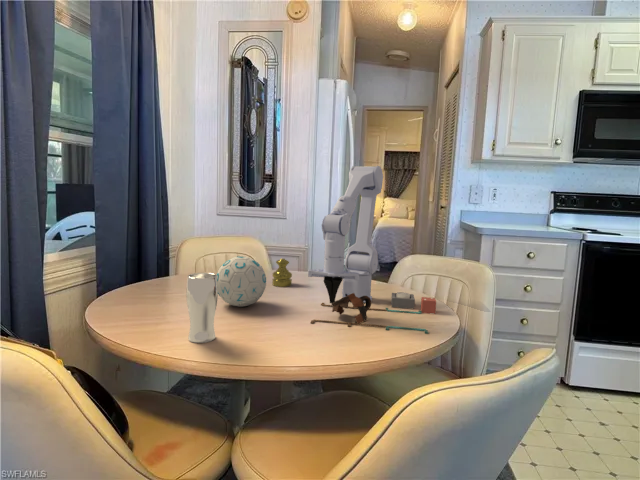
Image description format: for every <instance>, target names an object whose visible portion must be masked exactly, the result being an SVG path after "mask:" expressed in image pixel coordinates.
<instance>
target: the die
mask: <svg viewBox="0 0 640 480" xmlns="http://www.w3.org/2000/svg"><path fill="white" fill-rule="evenodd" d="M420 299H421V301H420V310H421V311H422V313H421V314H430V313H434V314H433V315H436V310H437V300H436V298H435V297H428V296H426V297H425V296H422V297H421V298H420Z"/></svg>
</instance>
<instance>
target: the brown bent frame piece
mask: <svg viewBox="0 0 640 480" xmlns="http://www.w3.org/2000/svg"><path fill="white" fill-rule="evenodd" d="M363 301H366V302H365V304H364V302H363ZM350 303H352V306H353V305H354V306H355V307H358V309H357V310H358V311H359V313H358V314H357V315H355V316H354V319H355V321H356V323H362V324H363V322H365V321H367V320H368V316H367V312H368V311H370V310H369V308H371V306H372V300H371V299H370V298H369V297H368V296H362V297H359V298H358V297H356V296H355V293H352V294H350V295H347V296H345V297H343V298H340V299H337V300H335V302H333V303H331V305H332V306H333V307H332V310H331V312H332V313H334V312H335V313H338V314H339V315H343V314H344V313H345V309H350V308H349V307H350V306H349V305H350ZM348 306H349V307H348Z"/></svg>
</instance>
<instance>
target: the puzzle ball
mask: <svg viewBox="0 0 640 480" xmlns="http://www.w3.org/2000/svg"><path fill="white" fill-rule="evenodd" d="M216 275H217V285H218V296H219V297H220V299H222V300H223V302H225V304H228V305H230V306H233V307H238V308H239V307H240V308H242V307H247V306H251V305H254V304H255V303H256V302H258V301H259V300H260V298H261V297H262V296H263V295H264V292H265V291H266V286H267V276H266V273H265V270H264V268H263V266H262V265H261V264H260V263H259V262H257V260H255V259H253V258H251V257H248V256H239V255H238V256H235V257H232V258H230V259H227V260H226V261H225V262H224V263H223V264H222V265H221V266H220V267H219V269H218V271H217V273H216Z"/></svg>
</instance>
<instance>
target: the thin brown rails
mask: <svg viewBox="0 0 640 480" xmlns="http://www.w3.org/2000/svg"><path fill="white" fill-rule="evenodd" d="M320 306H321V307H328V308H329V307H331V308H333V306H332V304H325V302H322V303H321V304H320ZM348 307H349V308H348V309H353V310H354V309H355V310H359V309H358V307H355V306H354V305H353V304H352V306H349V305H348ZM368 311H377V312H390V311H391V312H390V313H403V312H404V313H405V314H415V313H416V314H418V315H421V314H423V313H422V311H421V309H418V311H410V310H409V311H408V310H398V309H397V310H396V309H389V307H385V309H384V308H372V307H370V308H369V310H368ZM315 322H317V323H329V324H341V325H347V327H348V328H350V327H352V326H361V327H362V326H363V327H375V328H385V331H390V329H395V330H396V329H399V330H408V331H421V332H424V334H427V335H428V334H429V331H428V330H427V329H426V328H420V327H417V328H416V327H409V326H396V325H394V326H393V325H382V324H372V323H371V324H370V323H363V322H362V323H357V322H347V321H336V320H328V319H327V320H323V319H312V320H311V321H310V324H312V325H314V323H315Z"/></svg>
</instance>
